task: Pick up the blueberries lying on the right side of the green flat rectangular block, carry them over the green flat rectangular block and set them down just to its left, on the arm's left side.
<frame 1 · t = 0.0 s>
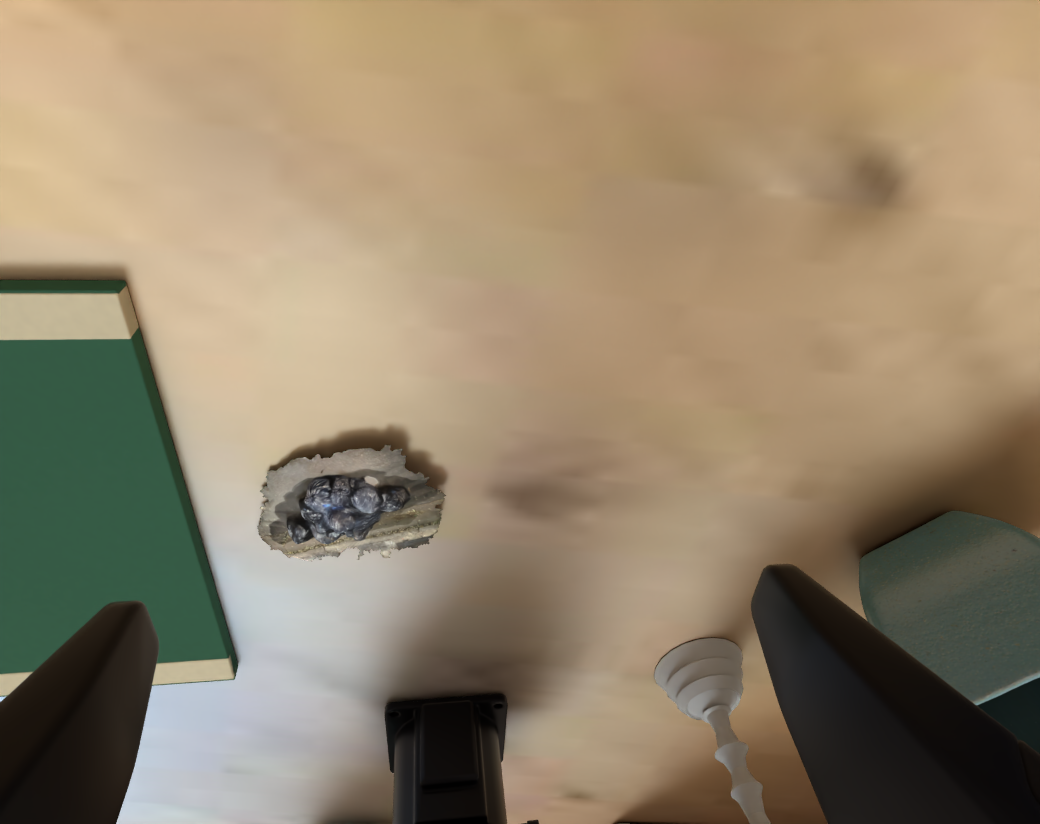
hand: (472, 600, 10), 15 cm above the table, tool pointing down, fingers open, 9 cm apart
chalice: (697, 663, 38), on the table
blueberries: (347, 503, 28), on the table
flower pot: (915, 554, 34), on the table
green flat rectangular block: (31, 519, 26), on the table
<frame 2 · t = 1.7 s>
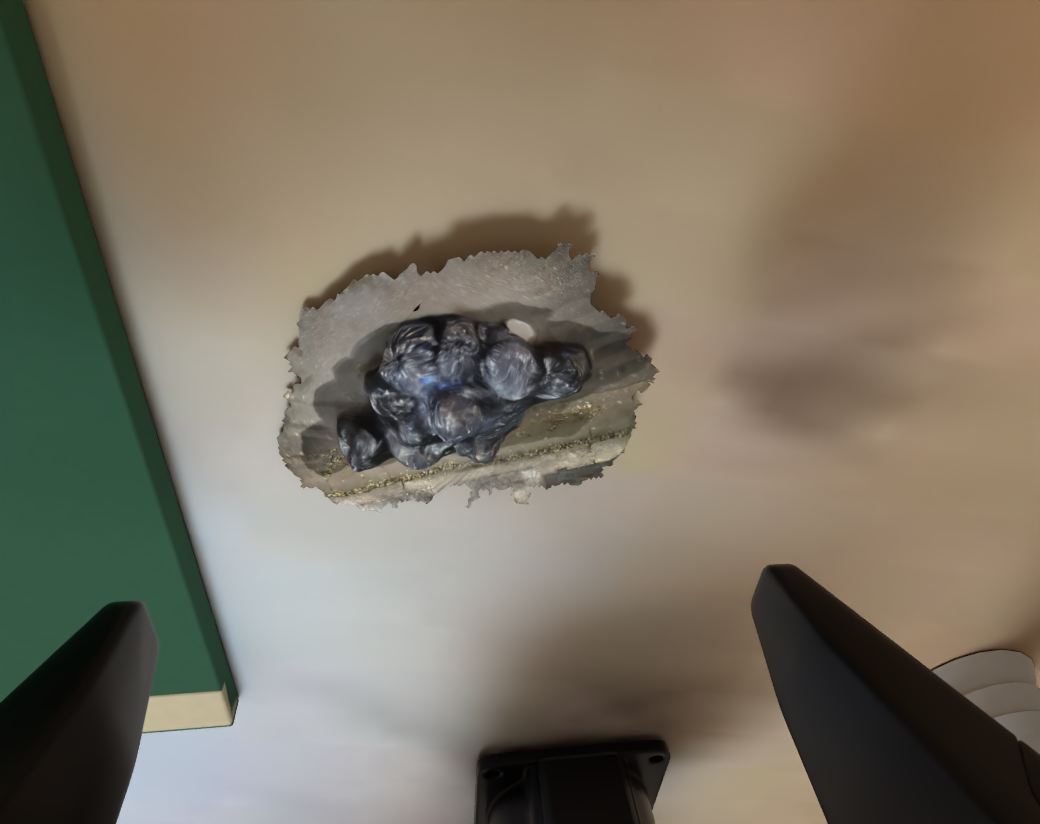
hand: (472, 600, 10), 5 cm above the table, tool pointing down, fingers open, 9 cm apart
chalice: (958, 689, 24), on the table
blueberries: (454, 394, 14), on the table
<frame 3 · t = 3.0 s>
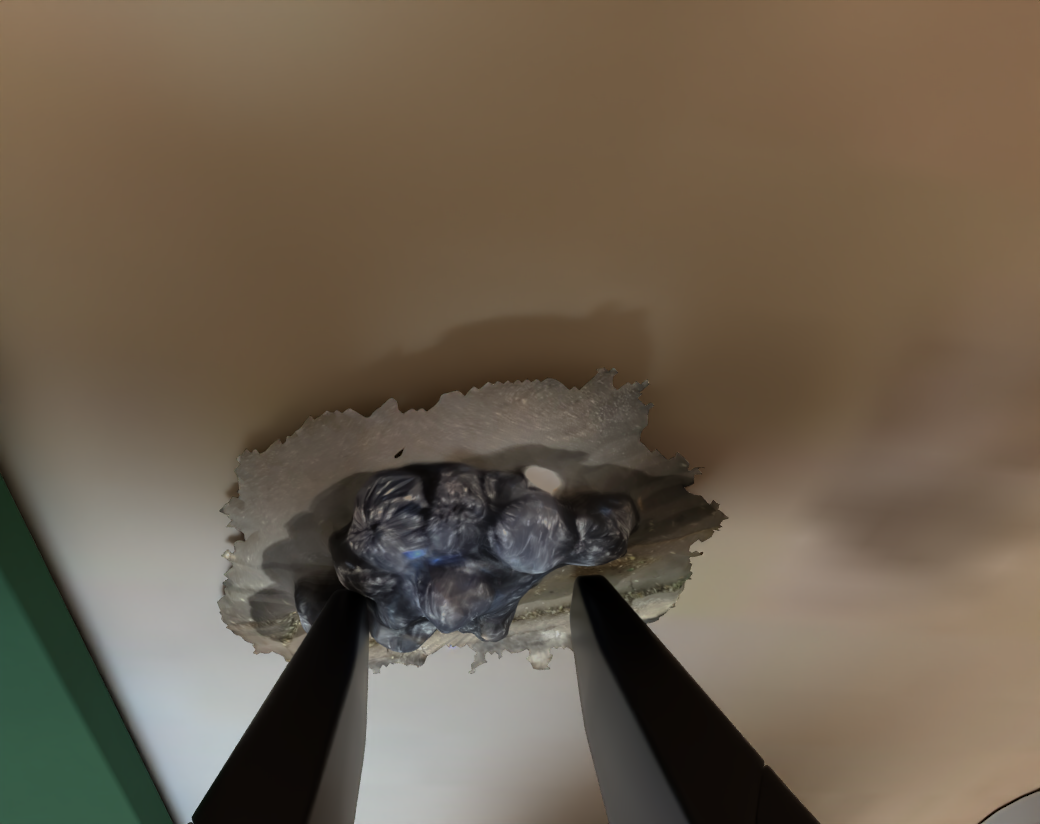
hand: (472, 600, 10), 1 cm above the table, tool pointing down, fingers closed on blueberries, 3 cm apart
blueberries: (452, 538, 11), on the table, touching gripper
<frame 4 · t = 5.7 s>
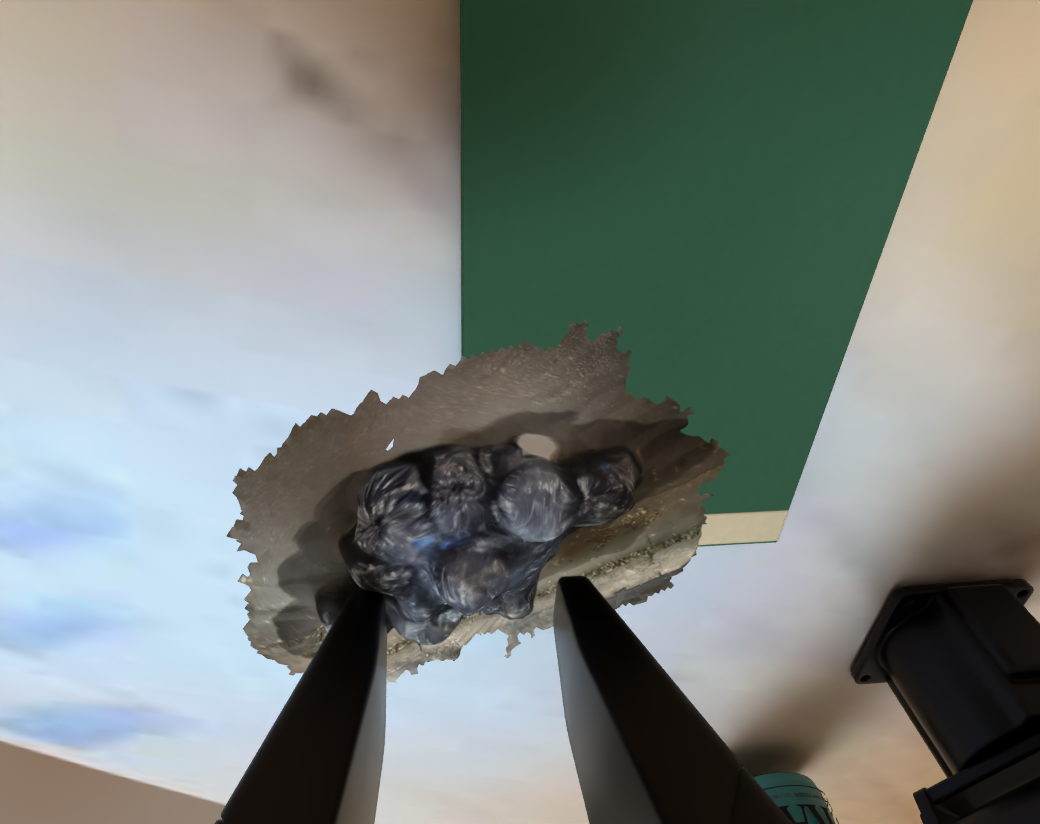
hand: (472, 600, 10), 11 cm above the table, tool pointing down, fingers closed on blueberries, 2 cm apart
blueberries: (463, 525, 11), point 10 cm above the table, touching gripper
green flat rectangular block: (662, 293, 20), on the table
beverage bottle: (748, 769, 38), on the table
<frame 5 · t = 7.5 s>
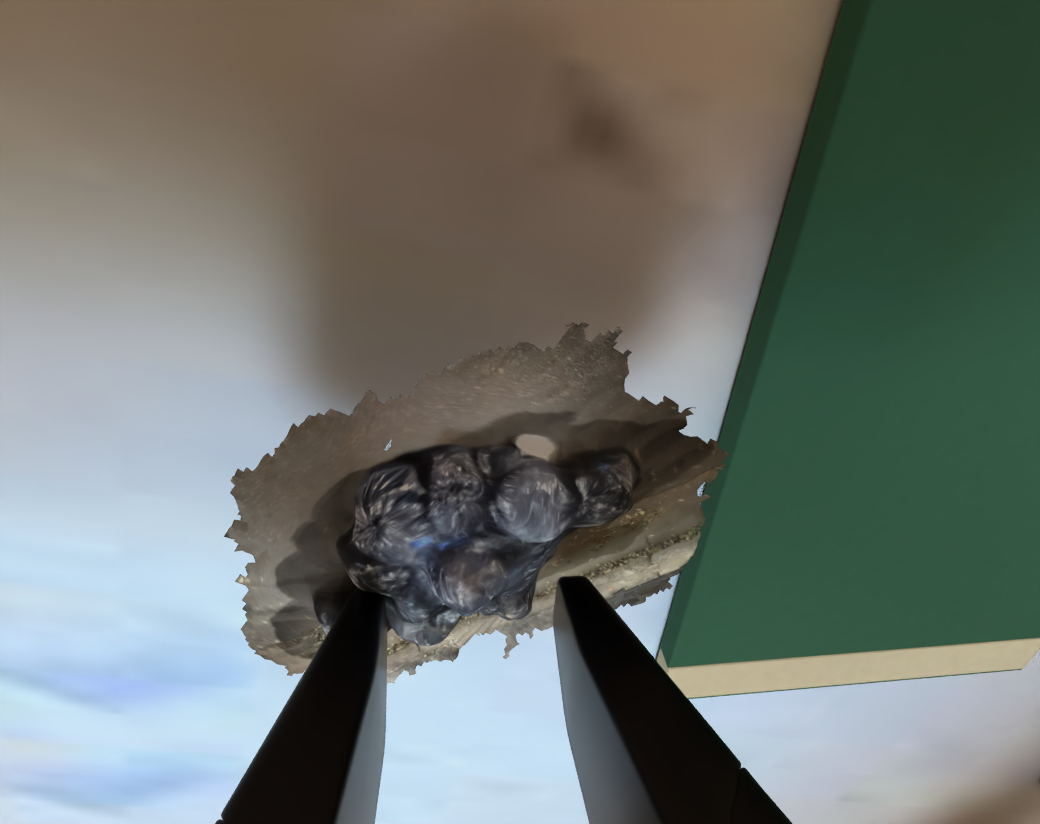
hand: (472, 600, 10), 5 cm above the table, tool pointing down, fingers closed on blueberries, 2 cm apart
blueberries: (461, 526, 11), point 4 cm above the table, touching gripper
green flat rectangular block: (975, 397, 15), on the table
when the fingers open (1 cm above the table, at t = 8.6 s): blueberries stays where it is, on the table.
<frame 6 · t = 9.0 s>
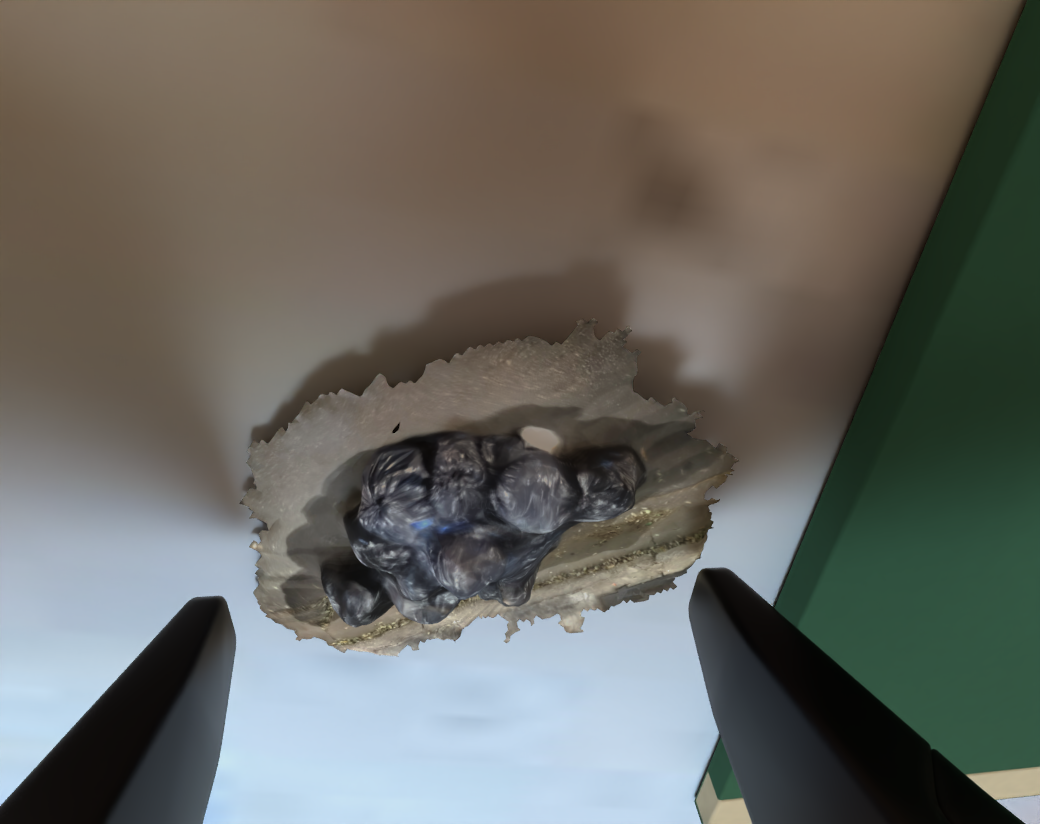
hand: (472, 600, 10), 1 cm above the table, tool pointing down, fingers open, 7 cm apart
blueberries: (469, 510, 11), on the table
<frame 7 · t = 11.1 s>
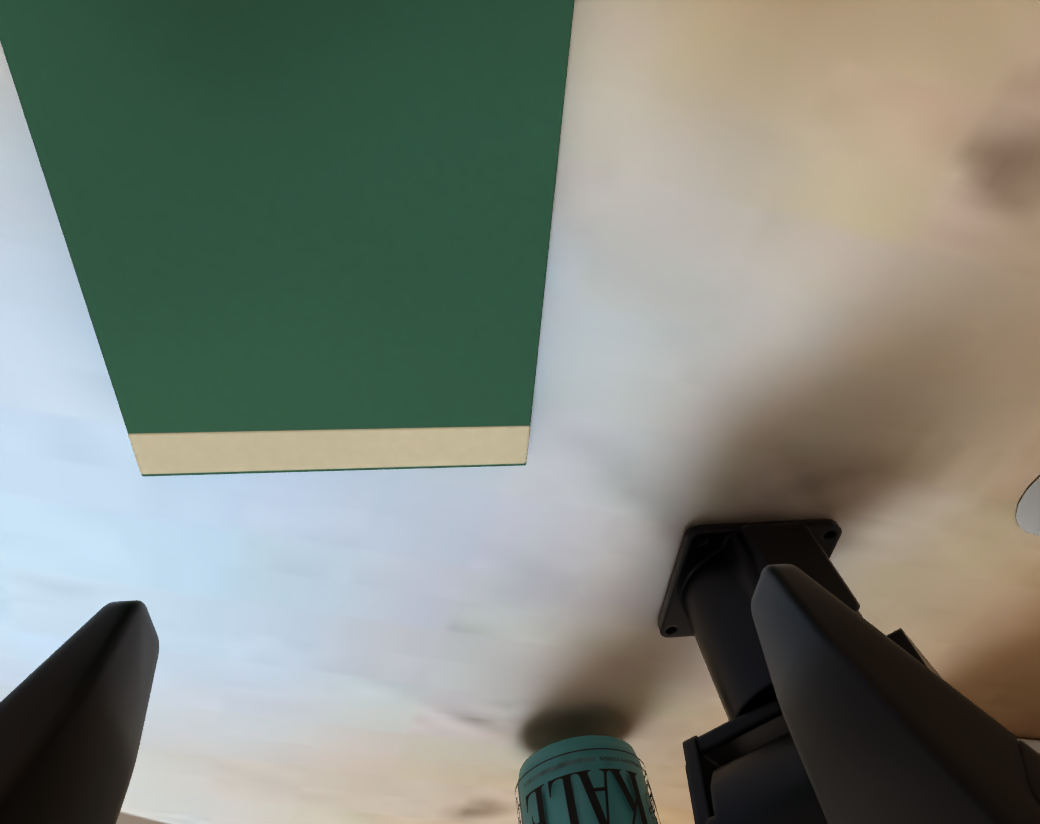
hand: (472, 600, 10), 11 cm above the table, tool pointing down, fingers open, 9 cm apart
green flat rectangular block: (313, 138, 16), on the table
beverage bottle: (570, 734, 35), on the table
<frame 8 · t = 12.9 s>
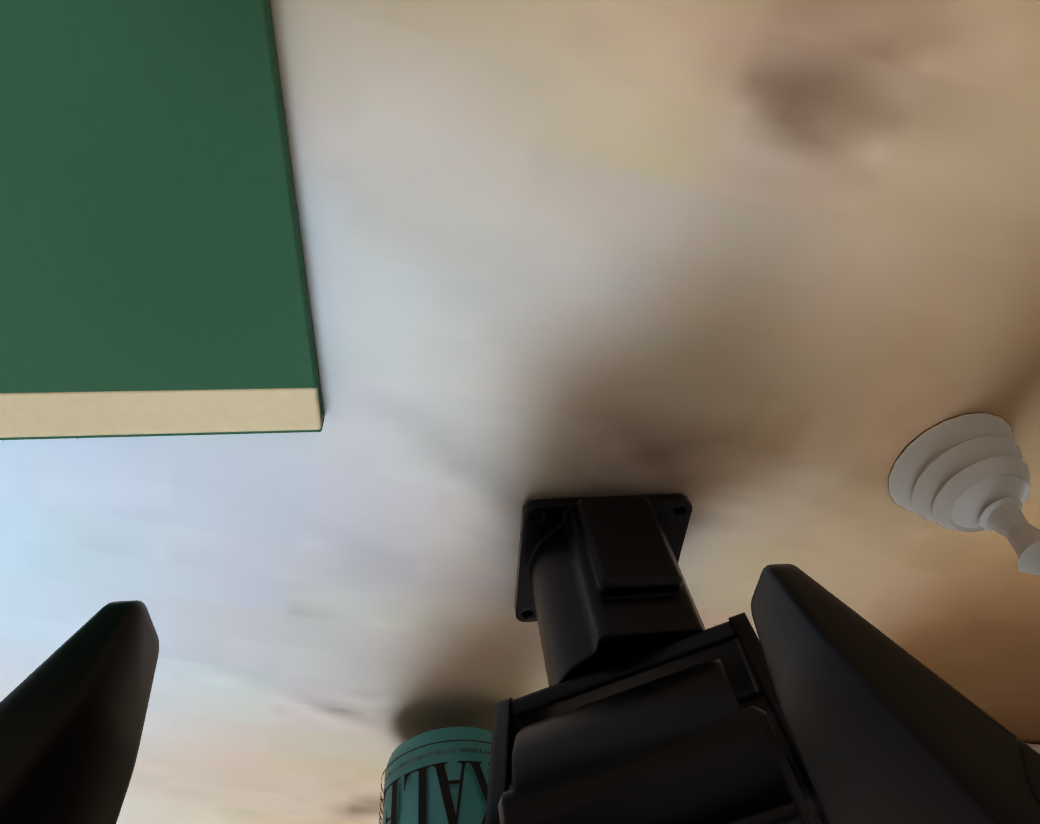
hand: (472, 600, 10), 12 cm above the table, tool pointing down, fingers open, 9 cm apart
chalice: (947, 462, 27), on the table
green flat rectangular block: (11, 69, 15), on the table
beverage bottle: (449, 727, 33), on the table
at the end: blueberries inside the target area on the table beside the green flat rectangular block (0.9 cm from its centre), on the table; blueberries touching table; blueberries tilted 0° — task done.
